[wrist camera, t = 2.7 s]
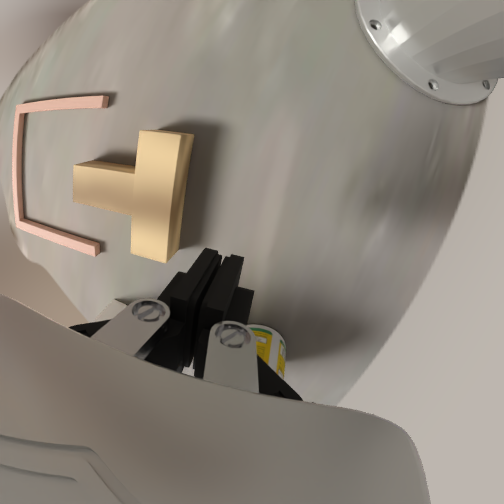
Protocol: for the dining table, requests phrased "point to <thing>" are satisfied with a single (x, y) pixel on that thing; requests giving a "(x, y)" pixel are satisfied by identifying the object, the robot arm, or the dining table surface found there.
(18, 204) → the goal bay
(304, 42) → the dining table surface
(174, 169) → the t block
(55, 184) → the dining table surface
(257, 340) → the supplement bottle
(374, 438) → the robot arm
